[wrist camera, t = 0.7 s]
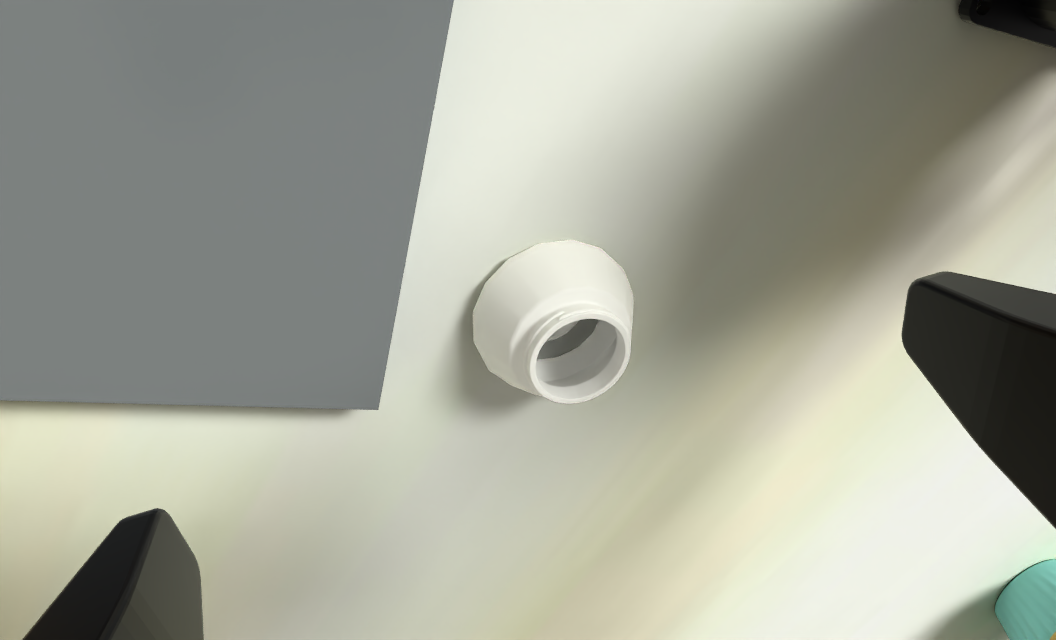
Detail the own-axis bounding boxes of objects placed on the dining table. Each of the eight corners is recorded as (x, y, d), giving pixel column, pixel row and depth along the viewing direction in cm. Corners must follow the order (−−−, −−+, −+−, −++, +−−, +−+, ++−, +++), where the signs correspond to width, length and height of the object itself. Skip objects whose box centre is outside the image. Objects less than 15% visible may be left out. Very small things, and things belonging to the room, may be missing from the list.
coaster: (466, -139, 17) (479, -139, 16) (373, 386, 23) (378, 409, 22) (-410, -403, 12) (-472, -427, 11) (-225, 364, 18) (-254, 393, 17)
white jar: (640, 331, 25) (595, 206, 22) (681, 381, 23) (636, 248, 20) (506, 400, 25) (443, 283, 22) (532, 458, 22) (465, 335, 20)
